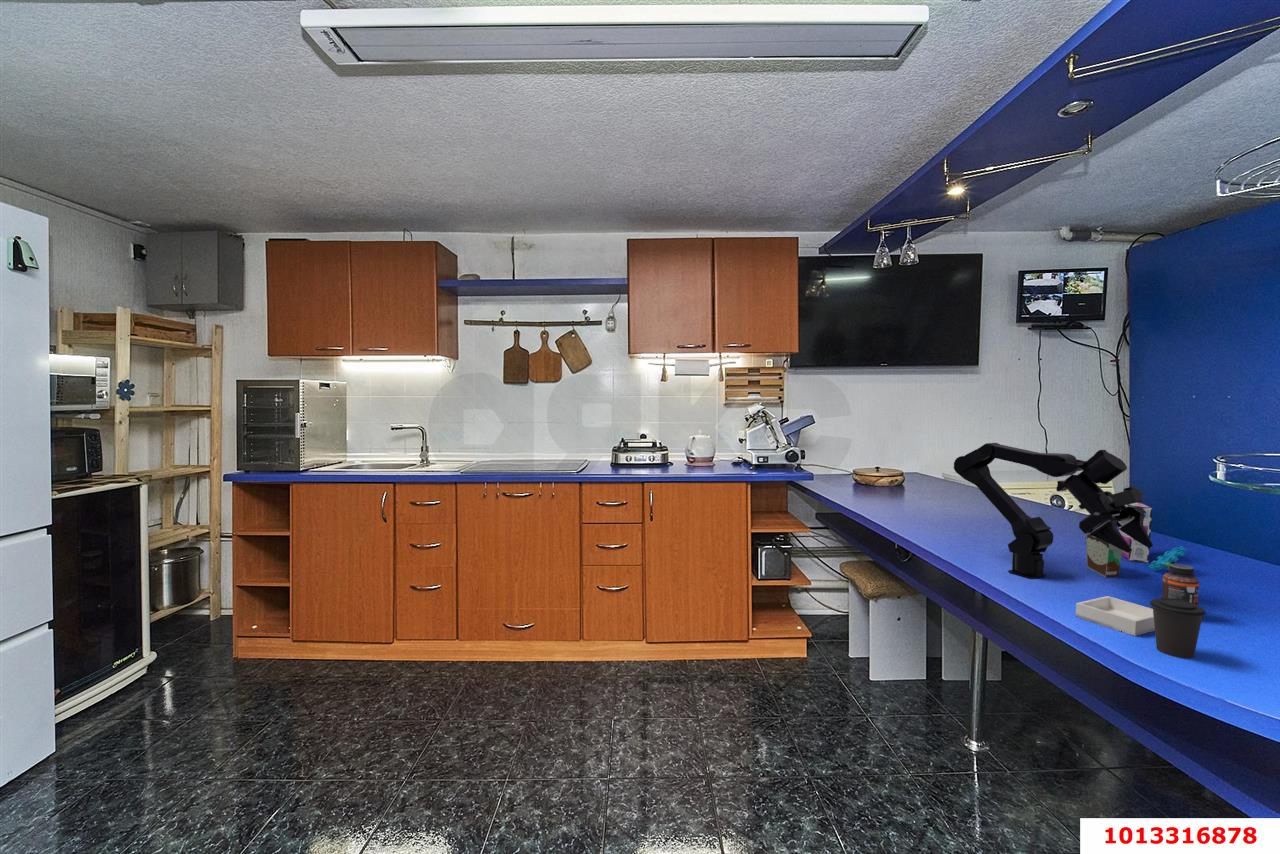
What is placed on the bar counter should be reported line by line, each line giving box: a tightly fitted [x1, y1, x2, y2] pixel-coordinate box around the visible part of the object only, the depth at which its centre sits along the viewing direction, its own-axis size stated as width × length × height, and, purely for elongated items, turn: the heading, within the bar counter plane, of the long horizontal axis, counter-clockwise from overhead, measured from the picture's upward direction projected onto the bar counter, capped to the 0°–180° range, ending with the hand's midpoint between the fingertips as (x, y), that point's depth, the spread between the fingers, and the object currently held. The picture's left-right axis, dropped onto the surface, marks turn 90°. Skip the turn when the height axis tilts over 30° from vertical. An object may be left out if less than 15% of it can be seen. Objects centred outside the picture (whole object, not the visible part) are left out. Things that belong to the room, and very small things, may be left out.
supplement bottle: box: [1161, 563, 1200, 606], centre depth 130 cm, size 6×6×11 cm
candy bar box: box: [1118, 502, 1153, 564], centre depth 175 cm, size 11×5×16 cm, turn 155°
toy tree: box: [1148, 545, 1188, 572], centre depth 160 cm, size 11×6×10 cm
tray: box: [1075, 595, 1155, 637], centre depth 127 cm, size 11×11×3 cm
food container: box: [1084, 532, 1123, 578], centre depth 161 cm, size 12×6×10 cm, turn 168°
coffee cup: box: [1149, 597, 1207, 659], centre depth 112 cm, size 8×8×10 cm
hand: (1140, 549), depth 137 cm, fingers open, 9 cm apart
